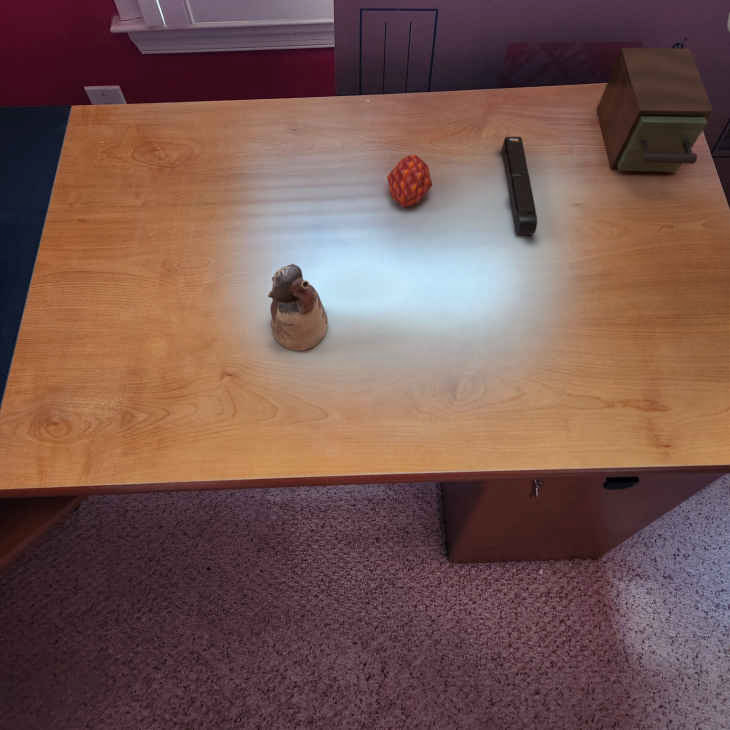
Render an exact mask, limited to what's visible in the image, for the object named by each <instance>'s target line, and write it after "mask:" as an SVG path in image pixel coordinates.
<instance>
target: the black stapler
mask: <svg viewBox="0 0 730 730" xmlns="http://www.w3.org/2000/svg"><path fill="white" fill-rule="evenodd" d="M501 154H502V159H503V166H504V172H505V179H506V183H507V190H508V196H509V202H510V209H511V215H512V222H513V228H514V233H515V234H516V235H520V234H521V235H530V234H532V235H533V234H535V233H536V232H537V231H536V230H537V226H538V215H537V212H536V211H537V209H536V205H535V199H534V193H533V189H532V184H531V178H530V174H529V168H528V162H527V158H526V153H525V147H524V142H523V138H522V136H505V137H504V139H503V143H502V147H501Z"/></svg>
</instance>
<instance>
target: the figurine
mask: <svg viewBox="0 0 730 730" xmlns="http://www.w3.org/2000/svg"><path fill="white" fill-rule="evenodd" d="M271 280H272V288H271V291H269V293H268V295H267V298H271V299H272V301H271V304H270V316H271V320H270V326H271V333H272V335H273V337H274V339H275V340H276V341H277V342H278V343H279V344H280V345H281V346H283V347H284V348H286V349H288V350H292V351H307V350H310V349H313V348H315V347H316V346H317V345H319V343H321V342H322V340H323V339H324V337H325V336H326V334H327V330H328V326H329V325H328V324H329V323H328V316H327V312H326V310H325V307H324V305H323V303H322V300H321V297H320V294H319V292H318V291H317V290H316V289H315V287H314V286H313V285H311V284H310V283H309V281H308V280H306V279H305V280H304V276H303V272H302V269H301V268H300V266H299V265H296V264H294V263H290V264H287V265H285V266H283V267H281V268H279V269H277V270H276V271H275V272H274V275H273V277H271Z"/></svg>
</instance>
